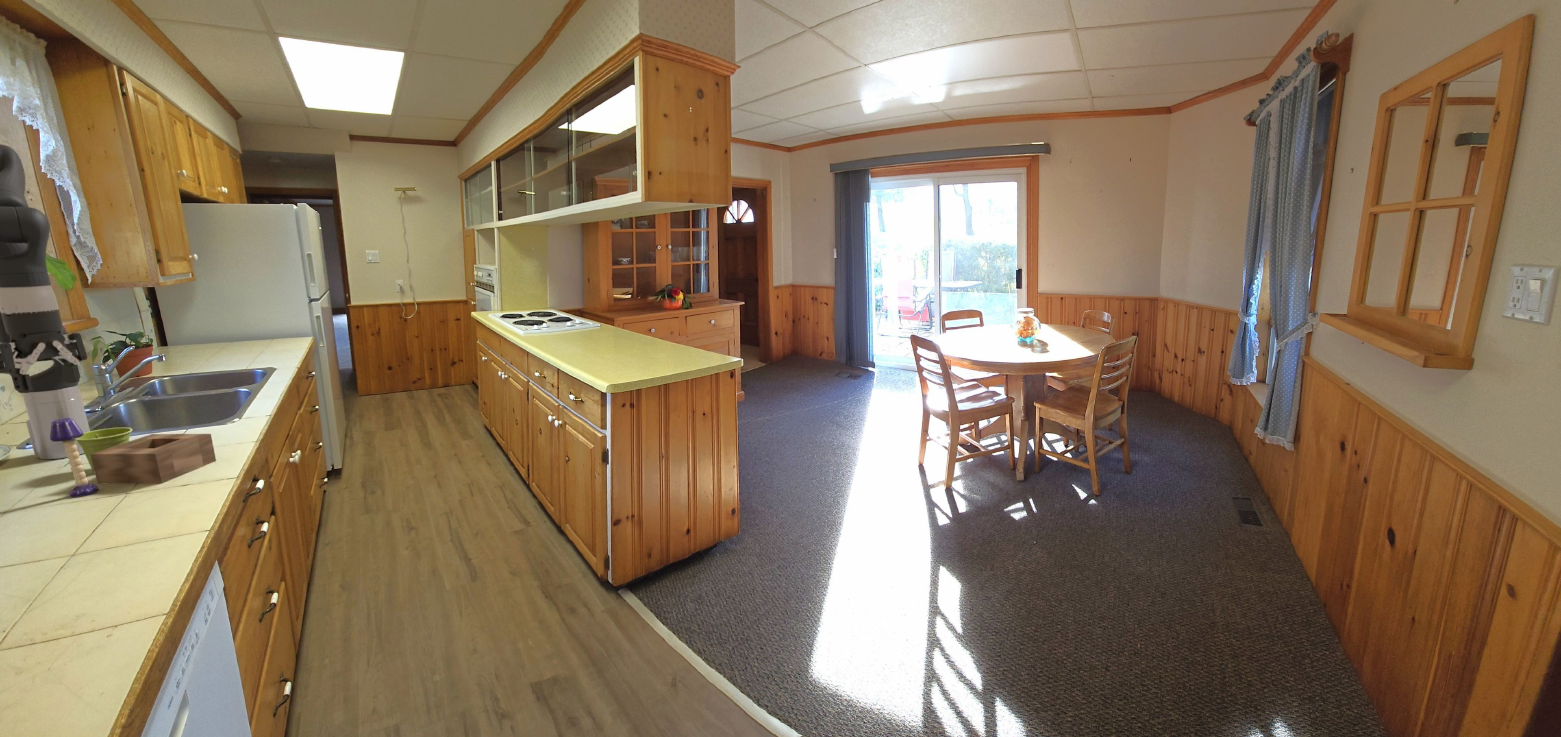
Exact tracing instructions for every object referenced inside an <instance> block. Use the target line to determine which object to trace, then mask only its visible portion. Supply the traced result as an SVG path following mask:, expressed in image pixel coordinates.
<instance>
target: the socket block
mask: <svg viewBox="0 0 1561 737" xmlns="http://www.w3.org/2000/svg"><path fill="white" fill-rule="evenodd" d="M91 459H92V463H93V467H94V471H93V472H94V474H95V478H96V482H97V484H98V483H127V484H163V483H166V482H168V481H171V480H173V479H175V478H178V477H181V476H182V474H183V475H185V473H186V474H188V473H191V472H193V471H195V470H197V469H200V468H202V467H205V466H207V465H210V464H212V463H215V462H216V461H217V458H216V453H215V448H214V443H213V438H212V433H150V434H147V435H145V436H142V437H139V438H135V439H132V440H129V442H126V443H123V444H120V445H117V446H114V447H111V448H108V449H105V450H102V451H98V452H95V453H92V454H91Z"/></svg>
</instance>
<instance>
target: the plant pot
mask: <svg viewBox="0 0 1561 737" xmlns="http://www.w3.org/2000/svg"><path fill="white" fill-rule="evenodd" d="M132 432H133V428H131V427H111V428H102V429H97V430H96V429H95V430H90V432H86V433H83V434H84V435H83V436H81V437H79V438H76V439H75V440H76V441H77V442H78V444H79V445H80V446H81V447H82V449H83V451H84V453H83V454H84V456H85V458H86V460H87V461H88V463H89V466H90V468H91V471H92V472H95V471H94V467H93V463H92V459H91V454H92V453H95V452H98V451H102V450H105V449H108V448H111V447H114V446H117V445H120V444H123V443H126V442H129V441H130V438H131V433H132Z"/></svg>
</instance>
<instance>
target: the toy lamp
mask: <svg viewBox="0 0 1561 737" xmlns="http://www.w3.org/2000/svg"><path fill="white" fill-rule="evenodd" d="M83 435H84V434H83V432H82V430H81V429H80V428H79V426H78V425H77V424H76V422H75V421H74V420H73V419H72V418H64V419H58V420H55V421H53V422H52V423H51V433H50V440H51V441H53V442H59V441H62V442H63V445H65V451H66V452H67V457H66V458H67V459H68V464H69V466H70V471H71V472H72V473H73V476H72V477H73V478H74V480H75V482H74V483H75V485H76V486H75V487H73V488H72V489H71V490H70V492H69V497H71V498H82V497H86V496H90V495H93V494H97V493H98V492H99V491H100V489H99V487H98V486H97V485H96V484H92V483H89V480H88V478H86V476H87V474H86V472H85V471H84V470H85V467H84V465H82V463H83V462H82V459H81V458H80V455H81V454H80V455H79V452H78V451H77V446H76V445H75V439H76V438H79V437H81V436H83Z"/></svg>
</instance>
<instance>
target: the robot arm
mask: <svg viewBox="0 0 1561 737" xmlns="http://www.w3.org/2000/svg"><path fill="white" fill-rule="evenodd" d="M23 165H24V164H23V163H22V159H21V158H20V156H19V154H18V153H17V151H16V150H15V149H14V148H12V147H11V146H8V145H5V144H1V143H0V374H3V375H9V376H10V378H11V380H12V383H13V386H14V390H15V391H17V392H18V393H19V394H22V397H23V401H24V405H25V408H26V411H27V412H26V413H27V416H28V420H26V422H25V423H26V427H27V432H28V434H29V439H30V443H31V445H32V449H33V450H32V451H33V453H34V456H35V458H39V460H40V459H41V460H56V459H63V458H67V452H66V451H65V445H63V442H62V441H59V442H53V441H51V440H50V433H51V423H52V422H53V421H55V420H58V419H64V418H72V419H73V420H74V421H75V422H76V424H77V425H78V426H79V428H80V429H81V430H82V432H83V433H86V432H90V431H91V430H90V426H89V421H88V418H87V413H86V410H85V406H84V400H83V396H82V393H81V391H80V386H79V382H80V379H81V373H80V369H79V363H80V362H83V361H86V360H87V359H88V355H87V351H86V347H85V344H84V342H83V338H82V334H81V333H79V332H67V329H66V327H65V326H64V325H63V320H62V317H61V312H60V308H59V305H58V301H57V296H56V294H55V292H54V290H53V287H52V285H51V280H50V276H49V272H48V266H47V259H46V258H47V257H46V256H47V247H48V246H47V245H48V243H49V242H48V240H49V238H50V233H51V232H50V230H51V223H50V220H49V219H48V217H47V215H46V214H45V213H43V212H42V211H41V210H40V209H38V208H35V207H30V206H29V203H28V201H27V199H26V196H25V190H26V174H25V169H24V166H23ZM47 361H53V364H52V365H51V366H49V367H48V368H47V369H45V370H43V371H41V372H38V373H35V374H31V375H30V374H28V371H29V369H30V368H31V366H33V365H34V364H36V363H37V362H47ZM75 445H76V446H77V451H78V452H79V455H83V454H85V453H84V451H83V449H82V447H81V446H80V445H79V444H78V442H77V441H76V440H75Z"/></svg>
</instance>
